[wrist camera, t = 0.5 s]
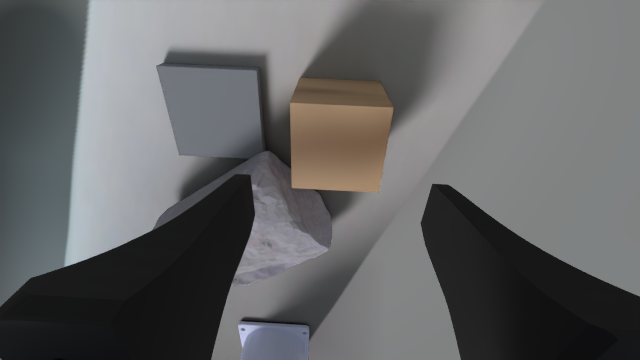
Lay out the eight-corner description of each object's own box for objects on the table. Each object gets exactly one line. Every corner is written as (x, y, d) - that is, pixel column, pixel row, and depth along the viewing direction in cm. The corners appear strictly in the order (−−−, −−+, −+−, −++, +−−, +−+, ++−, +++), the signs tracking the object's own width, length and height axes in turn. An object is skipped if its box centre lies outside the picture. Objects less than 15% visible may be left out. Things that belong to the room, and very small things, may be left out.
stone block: (342, 205, 25) (263, 133, 19) (350, 256, 22) (258, 190, 16) (243, 249, 30) (153, 203, 23) (238, 296, 27) (131, 259, 20)
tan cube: (369, 152, 21) (378, 192, 17) (300, 148, 21) (291, 187, 17) (379, 81, 18) (393, 107, 14) (300, 77, 18) (289, 102, 14)
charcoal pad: (265, 154, 21) (263, 159, 20) (184, 149, 21) (179, 155, 21) (259, 67, 18) (256, 70, 17) (162, 63, 18) (156, 66, 17)
